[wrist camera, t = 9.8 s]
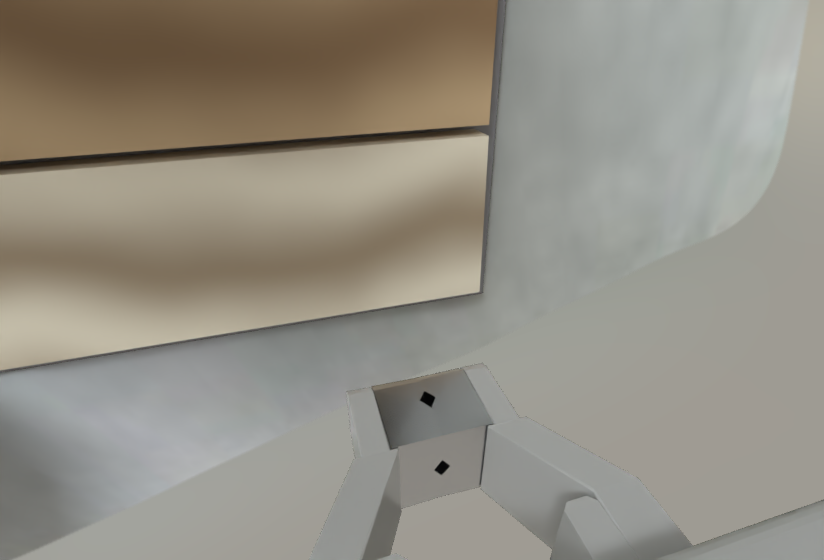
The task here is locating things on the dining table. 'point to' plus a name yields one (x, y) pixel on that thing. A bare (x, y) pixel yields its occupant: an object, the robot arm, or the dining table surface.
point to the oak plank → (236, 71)
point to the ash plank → (232, 239)
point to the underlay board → (484, 129)
